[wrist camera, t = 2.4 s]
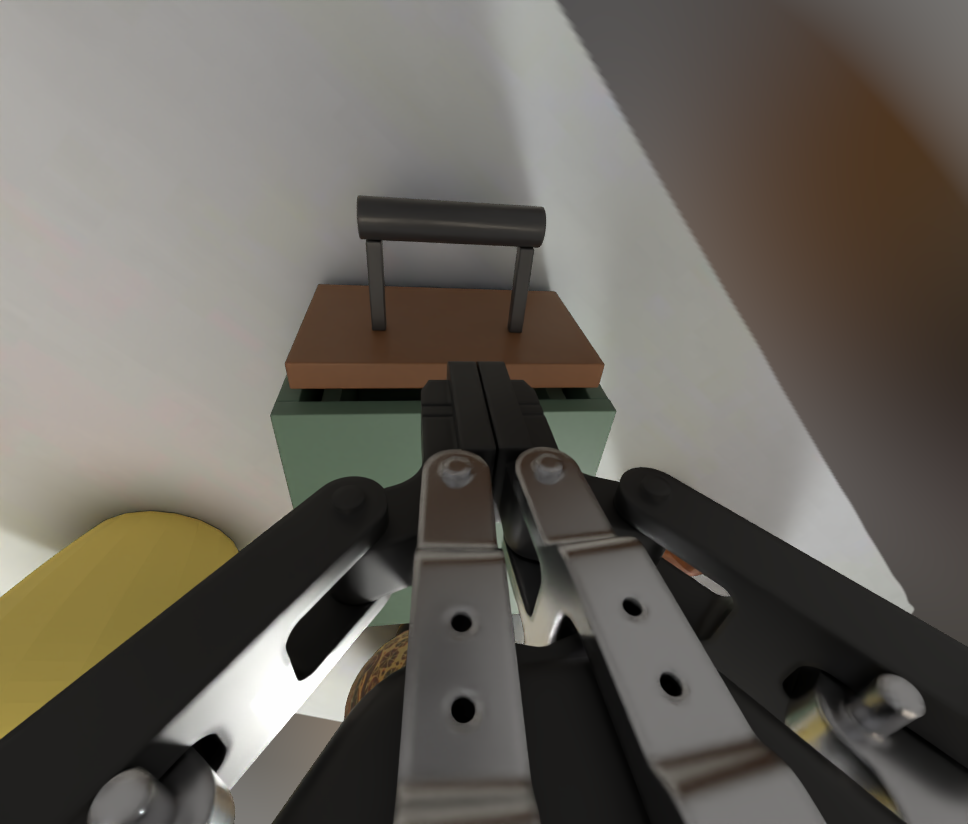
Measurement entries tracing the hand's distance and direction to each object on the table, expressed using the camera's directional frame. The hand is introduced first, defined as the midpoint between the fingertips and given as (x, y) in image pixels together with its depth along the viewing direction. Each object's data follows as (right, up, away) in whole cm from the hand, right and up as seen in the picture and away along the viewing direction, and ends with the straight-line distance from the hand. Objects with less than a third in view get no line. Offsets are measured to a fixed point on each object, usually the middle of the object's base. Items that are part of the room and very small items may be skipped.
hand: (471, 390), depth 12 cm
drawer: (-2, +2, +14) cm, 15 cm away
